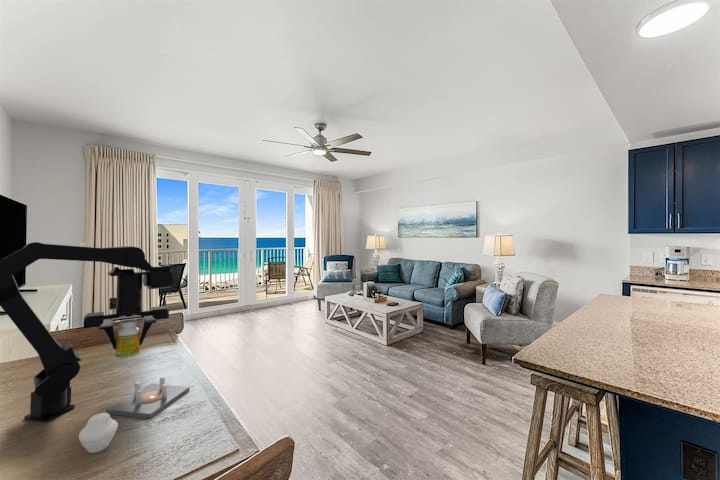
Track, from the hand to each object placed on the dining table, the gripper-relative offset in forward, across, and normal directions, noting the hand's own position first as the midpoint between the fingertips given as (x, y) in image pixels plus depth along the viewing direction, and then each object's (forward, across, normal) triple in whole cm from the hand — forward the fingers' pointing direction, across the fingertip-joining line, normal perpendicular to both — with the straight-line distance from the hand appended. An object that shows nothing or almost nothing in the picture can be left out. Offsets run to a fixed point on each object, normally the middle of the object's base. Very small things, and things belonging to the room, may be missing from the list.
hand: (127, 346), depth 87 cm
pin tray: (+12, -5, +10) cm, 17 cm away
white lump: (+13, +6, +25) cm, 29 cm away
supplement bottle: (+3, 0, 0) cm, 3 cm away
